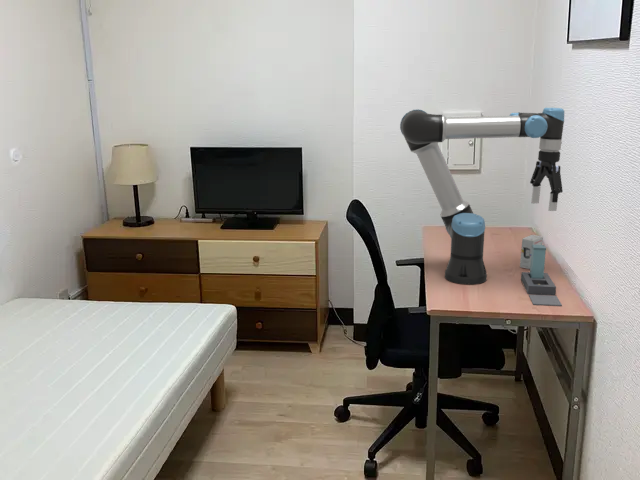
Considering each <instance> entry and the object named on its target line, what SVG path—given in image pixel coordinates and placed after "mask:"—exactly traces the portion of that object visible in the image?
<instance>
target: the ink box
mask: <svg viewBox="0 0 640 480" xmlns="http://www.w3.org/2000/svg"><path fill="white" fill-rule="evenodd" d="M543 239H544V236H541V235H535V234H530V235H528V236H525V237H523V238H522V239H521V250H520V251H521V252H520V259H519V260H520V262H519V268H523V269H525V270H526V269H527V270H530V266H531V253H532V245H543Z"/></svg>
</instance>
